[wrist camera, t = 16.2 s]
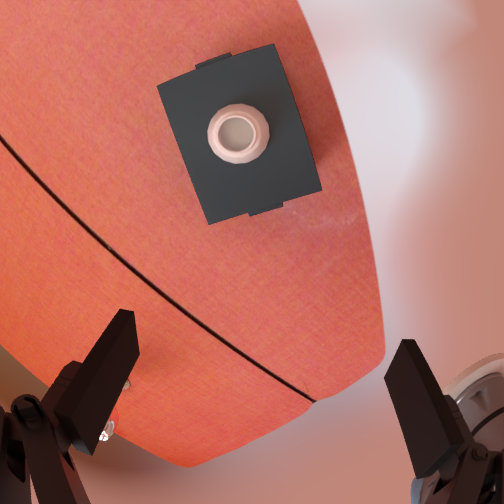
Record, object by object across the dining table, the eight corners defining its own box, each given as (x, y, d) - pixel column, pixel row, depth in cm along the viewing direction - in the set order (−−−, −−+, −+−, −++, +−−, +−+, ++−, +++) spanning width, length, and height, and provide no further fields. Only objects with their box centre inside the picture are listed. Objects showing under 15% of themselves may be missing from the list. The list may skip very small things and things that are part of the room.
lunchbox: (312, 181, 33) (324, 195, 26) (221, 209, 35) (210, 230, 28) (270, 55, 27) (271, 38, 21) (176, 88, 29) (154, 81, 23)
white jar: (197, 137, 25) (242, 174, 26) (189, 139, 22) (240, 180, 23) (235, 92, 23) (281, 130, 24) (231, 89, 20) (283, 131, 22)
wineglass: (108, 387, 49) (84, 436, 38) (100, 366, 46) (73, 416, 35) (135, 394, 49) (115, 446, 38) (130, 373, 46) (105, 427, 35)
